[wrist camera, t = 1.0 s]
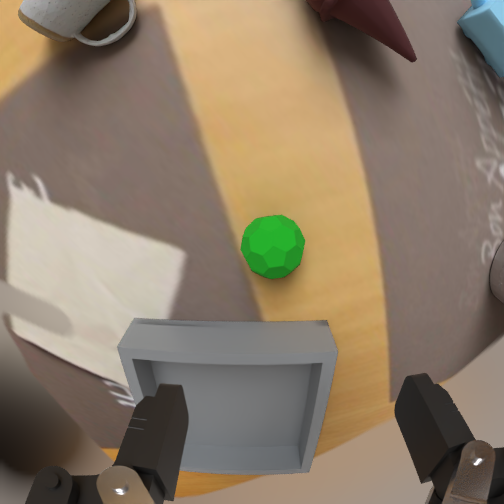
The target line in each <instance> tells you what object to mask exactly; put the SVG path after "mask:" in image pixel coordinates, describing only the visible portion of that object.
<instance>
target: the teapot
mask: <svg viewBox="0 0 504 504" xmlns="http://www.w3.org/2000/svg"><path fill="white" fill-rule="evenodd" d="M471 3H472V6H471V7H470V8H469V9H468V10H467V11H466V12H465V14H464V15H463V16H462V17H461V18H460V19H459V20H458V21H457V23H458V24H459V25H460V26H461V28H462V29H463V33H464V34H465V36H466V37H468V38H471V40H472V41H473V42H474V43H475V45H476V46H477V47H478V49H479V50H480V51H481V52H482V54H483V55H484V58H485V61H486V63H487V64H488V65H490V66H492V68H493V69H494V70H495V72H496V73H497V75H498V76H499V77H504V0H471Z"/></svg>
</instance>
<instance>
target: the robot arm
mask: <svg viewBox="0 0 504 504" xmlns="http://www.w3.org/2000/svg"><path fill="white" fill-rule="evenodd" d="M490 286H491V290H492V293H493V294H494V295H495V297H497V298H498V299H499V300H500V301H501V302H503V303H504V241H503V242H502V244H501V245H500V247H499V249H498V251H497V253H496V255H495V258H494V260H493V264H492V267H491V273H490ZM395 417H396V420H397V422H398V425H399V427H400V430H401V432H402V435H403V437H404V440H405V442H406V445H407V447H408V450H409V452H410V455H411V458H412V460H413V463H414V466H415V468H416V471H417V474H418V476H419V479H420V482H421V484H422V483H425V482H428V481H432V482H433V487H432V488H431V490H430V493H429V495H428V497H427V500H426V502H425V504H504V447H503V448H492V446H491V445H490V444H488V443H487V442H485V441H482V440H476V439H475V438H474V437H473V434H472V433H471V431H470V429H469V427H468V426H467V424H466V422H465V420H464V419H463V417H462V415H461V414H460V412H459V411H458V408H457V407H456V405H455V404H454V403H453V400H452V398H451V397H450V395H449V394H448V392H447V391H446V390H445V389H443V388H442V387H441V386H440V385H439V384H433V382H432V380H431V379H430V377H429V376H428V374H426V373H422V374H416V375H411V376H407V377H406V378H405V380H404V383H403V385H402V388H401V391H400V393H399V396H398V398H397V401H396V404H395ZM188 424H189V414H188V409H187V404H186V400H185V395H184V390H183V387H182V385H178V384H166V383H160V384H159V386H158V389H157V392H156V395H155V397H153V396H145V397H144V398H143V399H142V400H141V401H140V402H139V403H138V404H137V405H136V407H135V410H134V412H133V415H132V419H131V420H130V423H129V425H128V428H127V431H126V433H125V436H124V439H123V441H122V444H121V447H120V449H119V452H118V455H117V458H116V460H115V462H114V464H113V465H112V467H109V468H107V469H105V470H104V471H102V473H101V474H98V475H91V476H89V475H88V476H71V475H70V474H69V473H68V472H67V471H66V470H65V469H63V468H61V467H58V466H48V467H45V468H43V469H42V470H40V471H39V472H38V474H37V475H36V477H35V480H34V482H33V485H32V487H31V490H30V492H29V495H28V497H27V500H26V503H25V504H163V502H164V500H168V501H174V495H175V490H176V485H177V480H178V475H179V470H180V465H181V460H182V455H183V450H184V445H185V440H186V435H187V431H188Z"/></svg>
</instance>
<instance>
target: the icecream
mask: <svg viewBox="0 0 504 504" xmlns="http://www.w3.org/2000/svg"><path fill="white" fill-rule="evenodd" d="M306 1H307V2H308V4H309V5H310V6H311V7H312V8H313V9H314V10H315V11H318V12H320V13H319V15H320V18H321V21H322V22H323V21H329V20H330V19H332V18H338V19H340V20H342V21H344V22H346V23H347V24H349V25H351V26H353V27H355V28H357V29H359V30H361V31H362V32H364V33H366V34H368V35H369V36H371V37H373V38H375V39H376V40H378V41H380V42H381V43H383V44H385V45H386V46H388V47H389V48H391V49H392V50H394V51H395V52H397V53H398V54H400V55H401V56H403V57H404V58H406V59H407V60H409V61H410V62H415V61H416V60H417V58H416V55H415V53H414V50H413V48H412V46H411V44H410V41H409V39H408V37H407V35H406V33H405V31H404V29H403V27H402V25H401V23H400V21H399V19H398V17H397V15H396V13H395V11H394V9H393V7H392V5H391V3H390V2H389V0H306Z"/></svg>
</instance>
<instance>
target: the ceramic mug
mask: <svg viewBox="0 0 504 504" xmlns="http://www.w3.org/2000/svg"><path fill="white" fill-rule="evenodd" d="M110 1H111V0H23V2H22V4H21V6H20V8H19V11H18V16H19V18H20V20H21V21H22V22H23V23H25V24H26V25H27V26H29V27H30V28H32V29H33V30H35V31H37V32H38V33H40V34H42V35H44V36H46V37H48V38H51V39H53V40H56V41H60V42H65V41H69V40H71V39H73V38H74V37H75V38H76V39H77V40H79V41H80V42H82V43H85V44H88V45H92V46H104V45H108V44H111V43H113V42H115V41H117V40H119V39H120V38H121V37H123V36H124V35H125V34H126V33H127V32H128V31H129V30H130V28H131V27H132V25H133V23H134V21H135V19H136V13H137V12H136V4H135V1H134V0H128V2H129V5H130V13H129V21H128V22H127V23H126V24H125V25H124V26H123V27H122V28H121V29H120V30H118V31H117V32H116V33H113V34H110V35H109V36H108V38H106V39H103V40H101V41H93V40H89V39H87V38H85V37H84V36H82V35H81V34H80V32H81V31H82V30H83V29H84V28H85V26H86V25H87V24H88V23H89V22H90V21H91V20H92V19H93V17H94V16H95V15H96V14H97V13H98V12H99V11H100V10H101V9H102V8H103V7H104V6H105V5H107V4H108V3H109V2H110Z"/></svg>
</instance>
